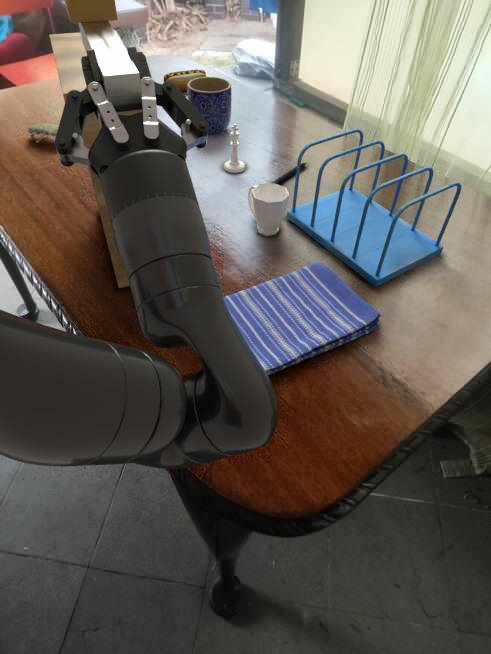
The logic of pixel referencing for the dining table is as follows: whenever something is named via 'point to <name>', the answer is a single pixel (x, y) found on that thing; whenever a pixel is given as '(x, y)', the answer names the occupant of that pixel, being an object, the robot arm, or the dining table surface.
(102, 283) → the dining table surface
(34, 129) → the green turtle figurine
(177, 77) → the hot dog
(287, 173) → the pen
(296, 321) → the dish towel
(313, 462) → the dining table surface
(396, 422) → the dining table surface
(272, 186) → the cup
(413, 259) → the file sorter
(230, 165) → the chess piece
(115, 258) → the stand
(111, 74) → the mallet
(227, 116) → the planter
